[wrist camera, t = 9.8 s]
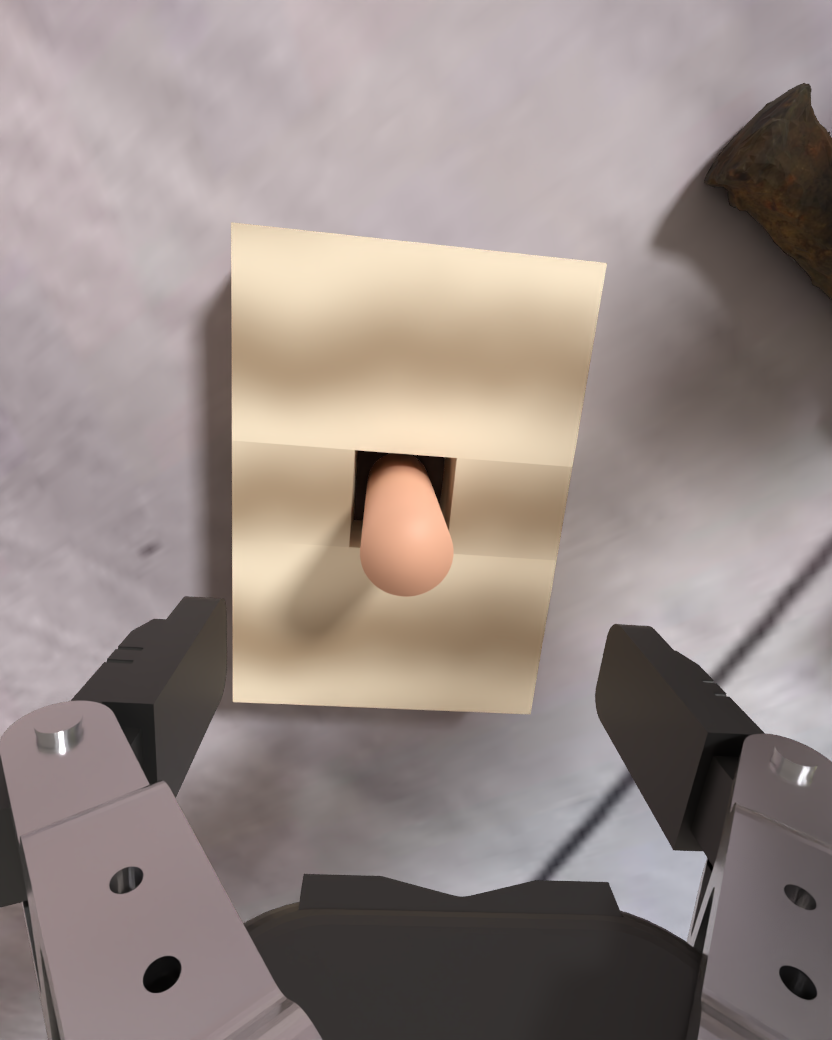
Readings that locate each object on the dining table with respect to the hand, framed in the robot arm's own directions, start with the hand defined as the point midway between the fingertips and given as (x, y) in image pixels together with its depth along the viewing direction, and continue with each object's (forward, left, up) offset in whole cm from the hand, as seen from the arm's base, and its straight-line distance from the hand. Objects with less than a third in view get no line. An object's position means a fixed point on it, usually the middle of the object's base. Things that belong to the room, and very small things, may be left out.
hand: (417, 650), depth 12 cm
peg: (0, 0, -17) cm, 17 cm away
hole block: (0, 0, -17) cm, 17 cm away
